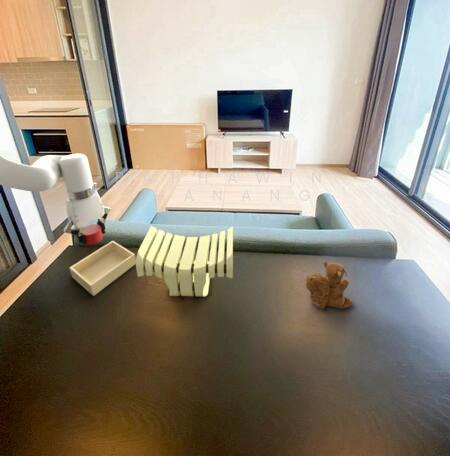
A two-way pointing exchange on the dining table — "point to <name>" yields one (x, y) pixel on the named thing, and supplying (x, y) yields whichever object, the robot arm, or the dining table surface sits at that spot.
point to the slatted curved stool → (185, 261)
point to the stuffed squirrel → (329, 287)
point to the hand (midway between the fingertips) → (93, 237)
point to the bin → (102, 267)
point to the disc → (92, 234)
